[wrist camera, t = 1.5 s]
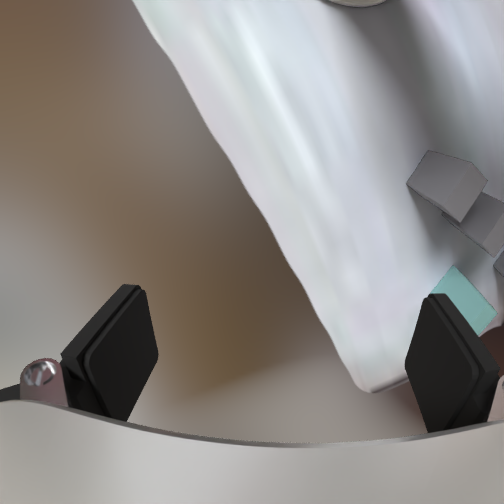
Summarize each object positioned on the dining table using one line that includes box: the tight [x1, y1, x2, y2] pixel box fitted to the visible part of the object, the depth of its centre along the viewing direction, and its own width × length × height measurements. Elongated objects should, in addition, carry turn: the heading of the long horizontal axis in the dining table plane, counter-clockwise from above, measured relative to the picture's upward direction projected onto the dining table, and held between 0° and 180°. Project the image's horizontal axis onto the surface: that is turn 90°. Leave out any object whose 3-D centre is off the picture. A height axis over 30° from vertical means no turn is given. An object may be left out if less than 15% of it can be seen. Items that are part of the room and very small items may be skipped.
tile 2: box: [442, 192, 504, 258], centre depth 28 cm, size 3×5×10 cm, turn 149°
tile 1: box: [406, 150, 488, 222], centre depth 27 cm, size 3×5×10 cm, turn 149°
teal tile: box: [431, 265, 497, 335], centre depth 32 cm, size 3×5×10 cm, turn 149°
